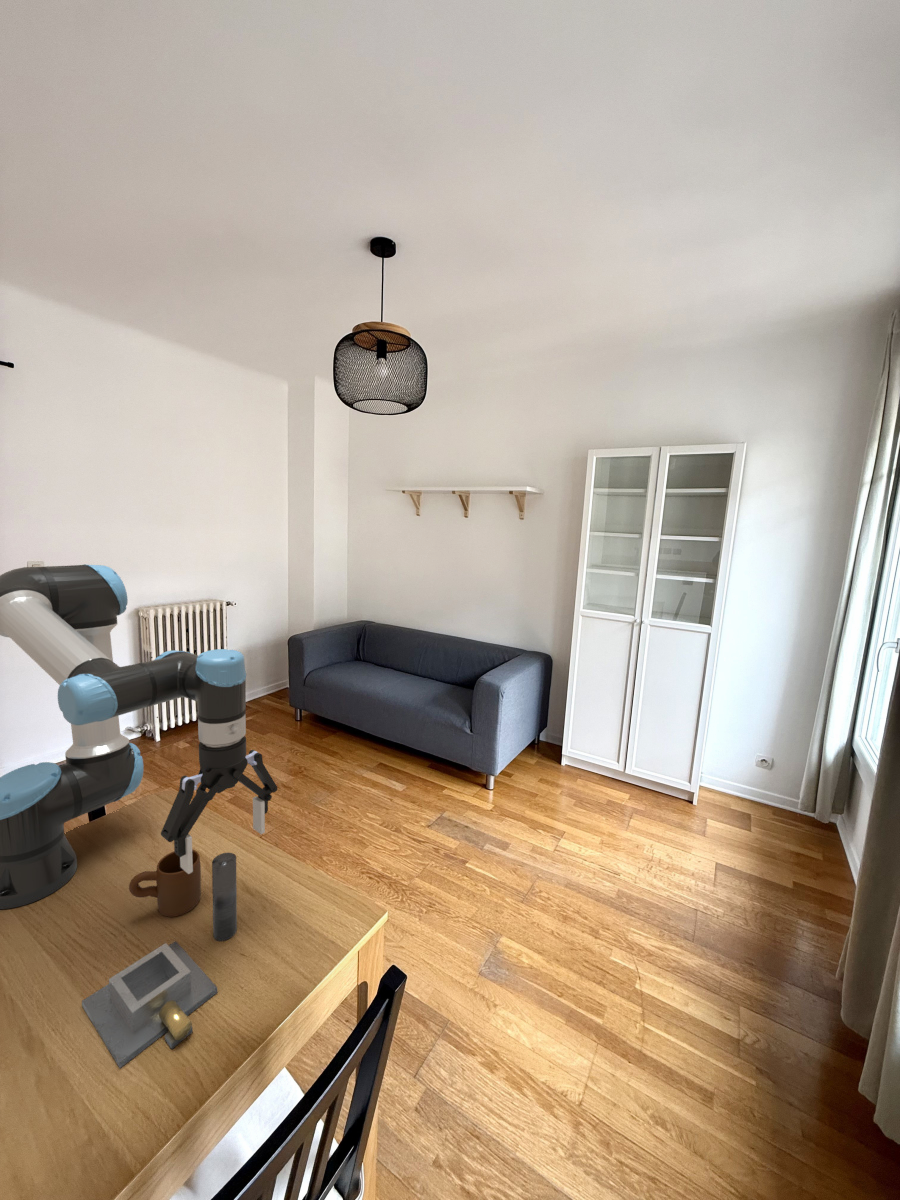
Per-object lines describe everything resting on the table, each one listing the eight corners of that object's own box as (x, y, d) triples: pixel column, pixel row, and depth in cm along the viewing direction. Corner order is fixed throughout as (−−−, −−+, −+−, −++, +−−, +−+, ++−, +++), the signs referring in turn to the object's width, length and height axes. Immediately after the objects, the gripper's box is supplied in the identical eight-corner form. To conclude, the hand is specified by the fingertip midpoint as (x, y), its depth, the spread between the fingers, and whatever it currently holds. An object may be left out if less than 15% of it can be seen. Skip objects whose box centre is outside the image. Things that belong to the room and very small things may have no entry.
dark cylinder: (209, 933, 89) (207, 861, 86) (229, 919, 92) (228, 849, 90) (220, 945, 86) (219, 871, 84) (241, 930, 90) (240, 859, 87)
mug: (131, 935, 87) (128, 889, 86) (130, 906, 93) (127, 863, 92) (203, 908, 94) (202, 865, 93) (198, 883, 100) (197, 843, 99)
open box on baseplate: (82, 1006, 74) (80, 981, 74) (175, 945, 86) (175, 923, 85) (130, 1086, 64) (129, 1058, 64) (229, 1005, 76) (228, 981, 75)
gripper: (155, 773, 71) (161, 900, 74) (296, 723, 91) (295, 824, 94) (133, 757, 75) (139, 878, 78) (272, 712, 95) (273, 810, 99)
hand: (225, 849), depth 86 cm, fingers open, 13 cm apart
